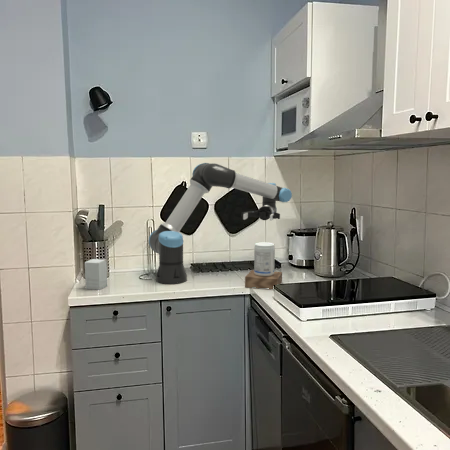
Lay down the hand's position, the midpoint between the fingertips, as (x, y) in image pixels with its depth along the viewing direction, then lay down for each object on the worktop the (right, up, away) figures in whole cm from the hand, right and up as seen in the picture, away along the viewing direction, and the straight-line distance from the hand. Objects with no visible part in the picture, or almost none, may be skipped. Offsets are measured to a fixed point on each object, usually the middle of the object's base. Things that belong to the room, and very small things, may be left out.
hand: (257, 217), depth 234 cm
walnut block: (+2, -32, -13) cm, 35 cm away
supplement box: (-75, -33, -18) cm, 84 cm away
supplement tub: (+2, -27, -13) cm, 30 cm away
